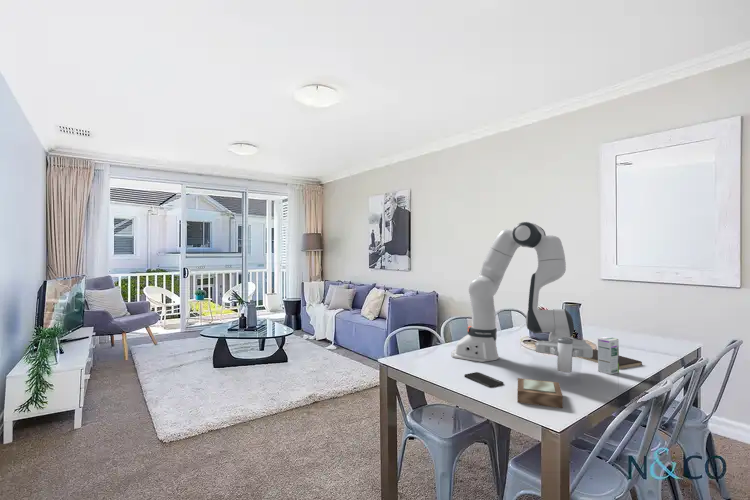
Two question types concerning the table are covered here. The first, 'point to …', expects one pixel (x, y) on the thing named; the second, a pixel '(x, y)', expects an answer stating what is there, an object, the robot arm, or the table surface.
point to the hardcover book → (623, 361)
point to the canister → (564, 355)
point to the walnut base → (539, 393)
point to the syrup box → (608, 355)
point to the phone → (483, 379)
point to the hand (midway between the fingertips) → (565, 354)
